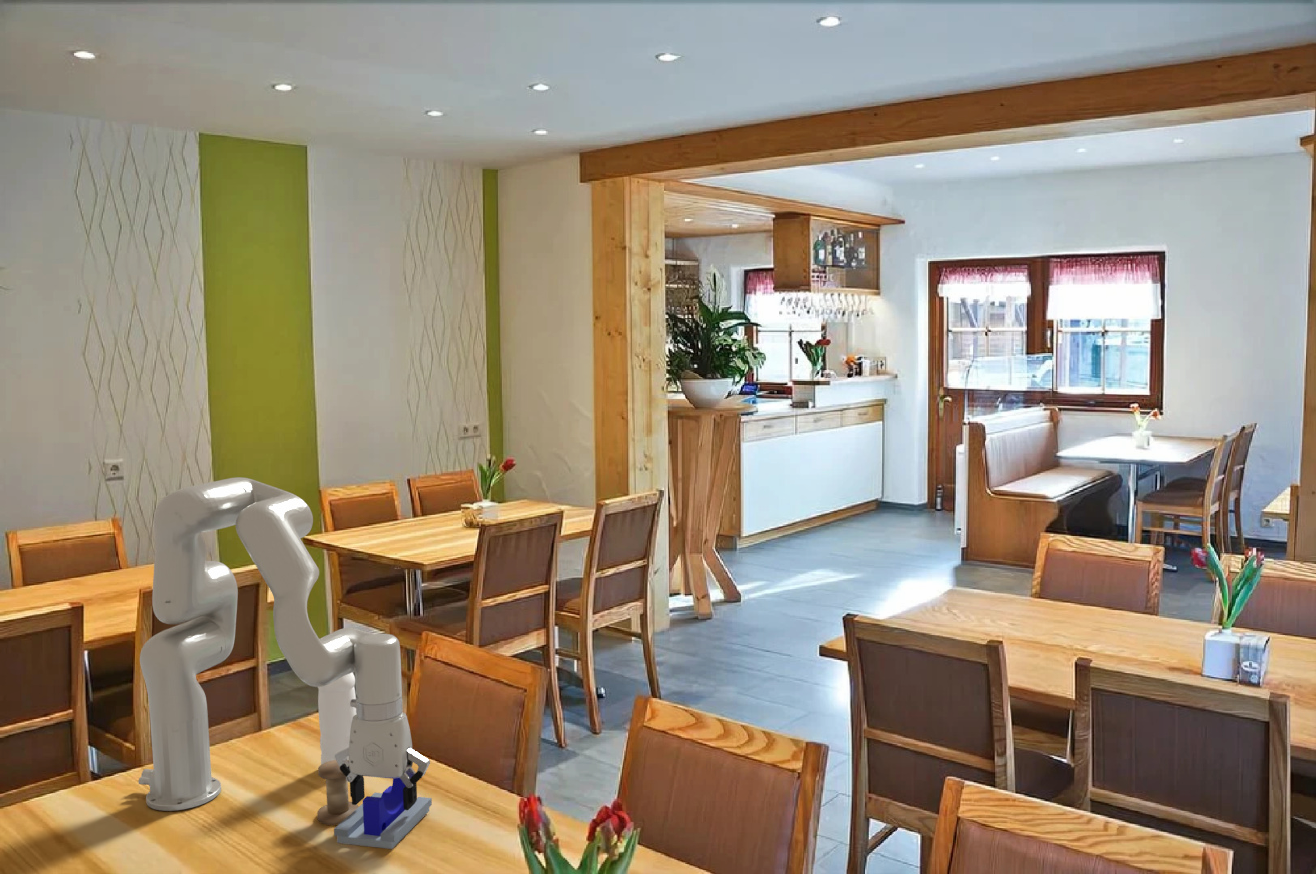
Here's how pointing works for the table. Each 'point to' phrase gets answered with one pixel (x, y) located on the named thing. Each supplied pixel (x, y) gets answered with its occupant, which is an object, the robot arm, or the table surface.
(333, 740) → the water bottle
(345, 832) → the notched board
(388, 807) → the cable clip
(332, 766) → the door knob
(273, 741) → the table surface
